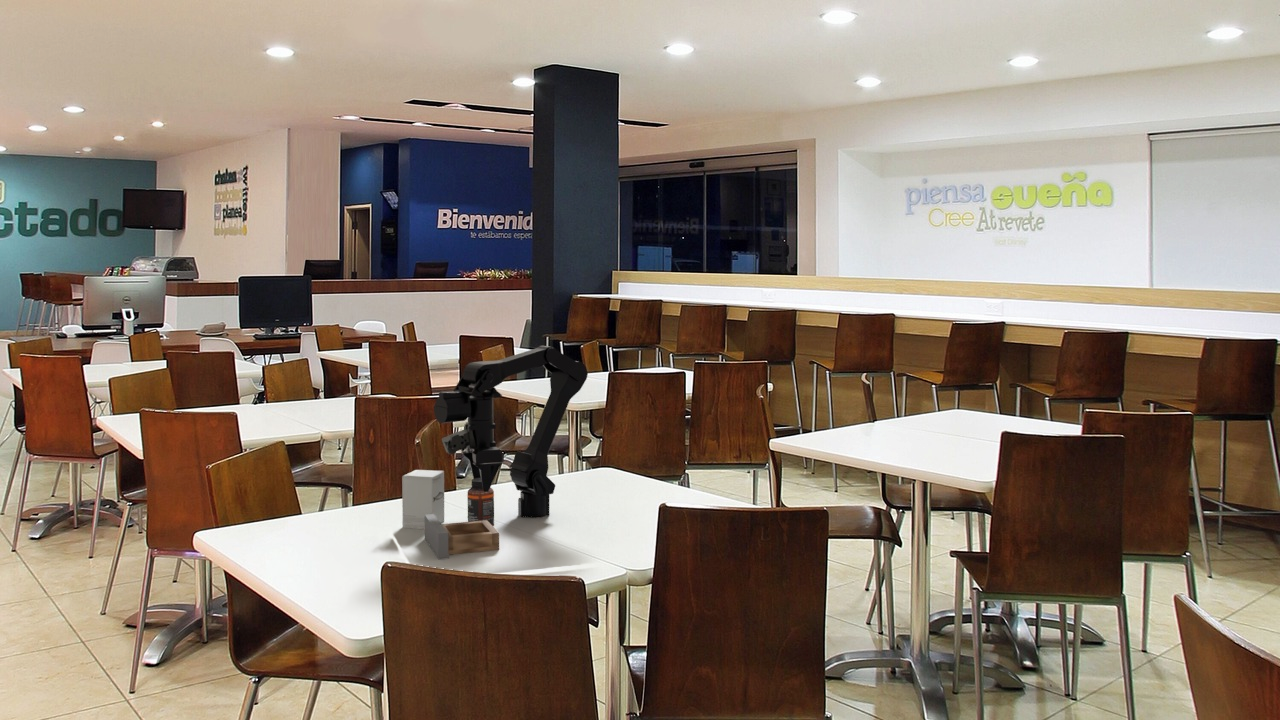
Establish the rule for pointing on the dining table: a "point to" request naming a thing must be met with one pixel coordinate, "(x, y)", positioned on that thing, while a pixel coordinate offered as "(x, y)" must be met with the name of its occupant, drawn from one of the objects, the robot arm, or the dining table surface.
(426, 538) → the backstop
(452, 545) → the wooden tray
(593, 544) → the dining table surface
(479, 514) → the supplement bottle
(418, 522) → the supplement box
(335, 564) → the dining table surface
